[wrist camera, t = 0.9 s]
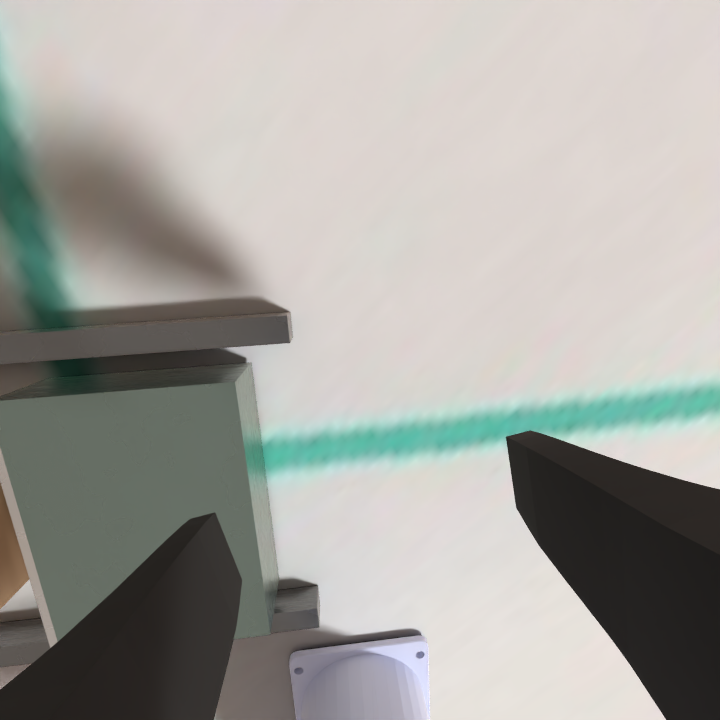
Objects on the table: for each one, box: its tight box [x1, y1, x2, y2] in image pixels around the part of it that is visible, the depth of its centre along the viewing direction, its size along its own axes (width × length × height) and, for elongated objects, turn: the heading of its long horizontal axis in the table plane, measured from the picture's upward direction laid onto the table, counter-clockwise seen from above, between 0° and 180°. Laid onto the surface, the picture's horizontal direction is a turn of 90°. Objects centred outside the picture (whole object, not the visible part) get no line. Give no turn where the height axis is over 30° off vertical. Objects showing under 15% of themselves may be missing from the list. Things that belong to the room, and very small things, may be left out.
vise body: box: [0, 312, 320, 667], centre depth 17 cm, size 16×23×4 cm
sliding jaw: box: [0, 363, 279, 648], centre depth 17 cm, size 12×10×3 cm
